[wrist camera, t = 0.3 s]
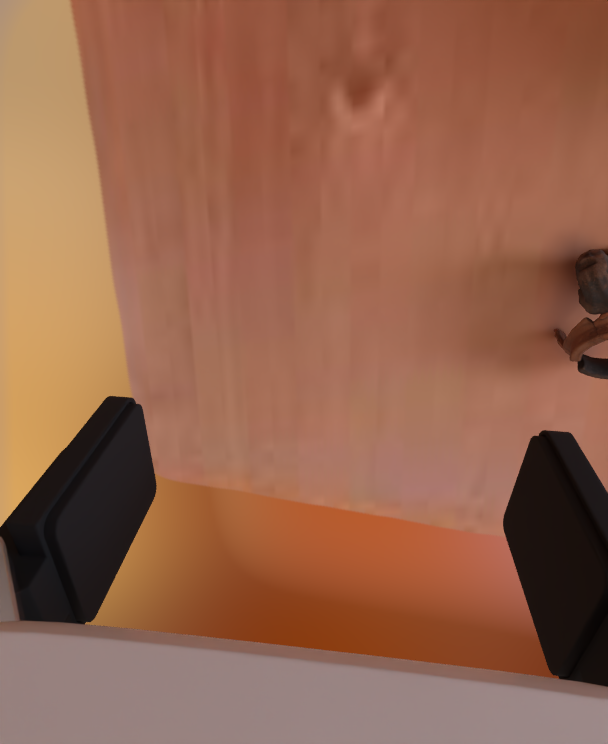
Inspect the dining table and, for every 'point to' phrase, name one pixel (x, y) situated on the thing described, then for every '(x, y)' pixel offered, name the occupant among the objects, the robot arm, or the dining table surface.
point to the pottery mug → (598, 296)
